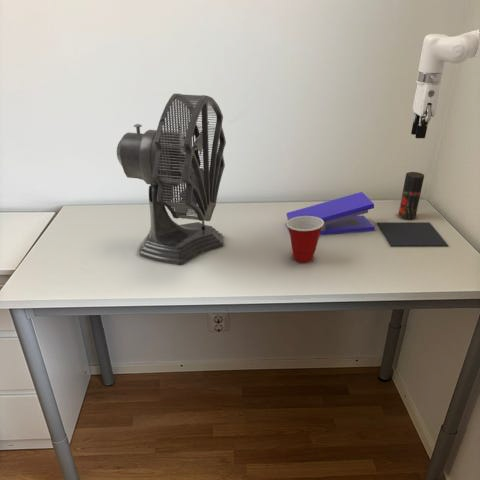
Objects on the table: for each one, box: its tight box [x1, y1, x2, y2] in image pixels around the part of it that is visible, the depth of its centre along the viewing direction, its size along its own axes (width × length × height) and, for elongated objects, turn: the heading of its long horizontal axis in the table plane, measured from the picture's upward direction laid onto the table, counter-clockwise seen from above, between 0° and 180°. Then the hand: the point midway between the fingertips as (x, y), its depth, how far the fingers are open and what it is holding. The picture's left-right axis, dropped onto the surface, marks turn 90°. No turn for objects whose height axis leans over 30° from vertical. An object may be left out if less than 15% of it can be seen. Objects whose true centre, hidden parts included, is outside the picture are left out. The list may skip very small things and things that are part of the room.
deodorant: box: [397, 171, 425, 221], centre depth 177 cm, size 6×6×15 cm
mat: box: [376, 221, 449, 248], centre depth 169 cm, size 18×18×1 cm
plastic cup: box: [286, 216, 324, 264], centre depth 151 cm, size 11×11×12 cm
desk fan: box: [116, 93, 227, 266], centre depth 145 cm, size 34×33×45 cm
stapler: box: [286, 191, 376, 236], centre depth 171 cm, size 12×28×10 cm, turn 101°
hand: (417, 135), depth 176 cm, fingers open, 4 cm apart
